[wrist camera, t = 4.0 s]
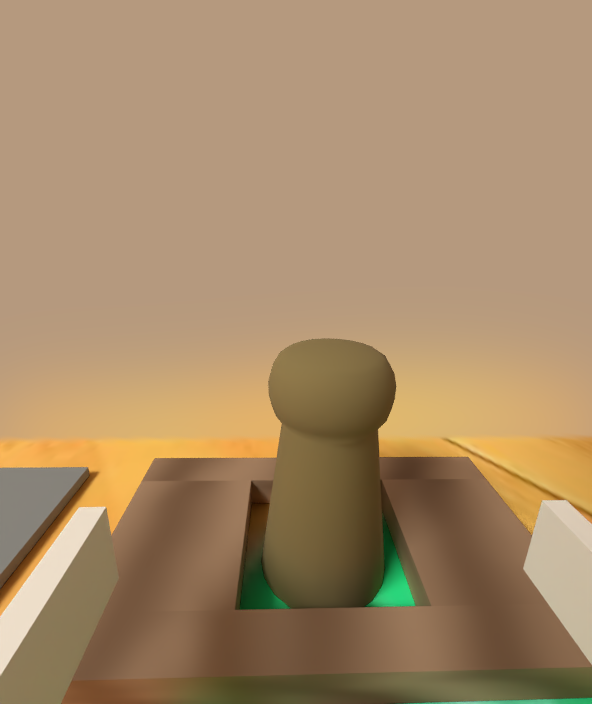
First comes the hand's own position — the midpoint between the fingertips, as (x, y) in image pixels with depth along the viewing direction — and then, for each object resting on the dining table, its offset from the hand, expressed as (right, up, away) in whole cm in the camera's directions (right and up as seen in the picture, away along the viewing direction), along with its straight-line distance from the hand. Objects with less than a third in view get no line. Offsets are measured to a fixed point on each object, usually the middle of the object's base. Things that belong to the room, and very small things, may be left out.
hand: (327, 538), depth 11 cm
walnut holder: (0, -4, +7) cm, 8 cm away
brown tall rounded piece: (0, -5, +7) cm, 8 cm away
